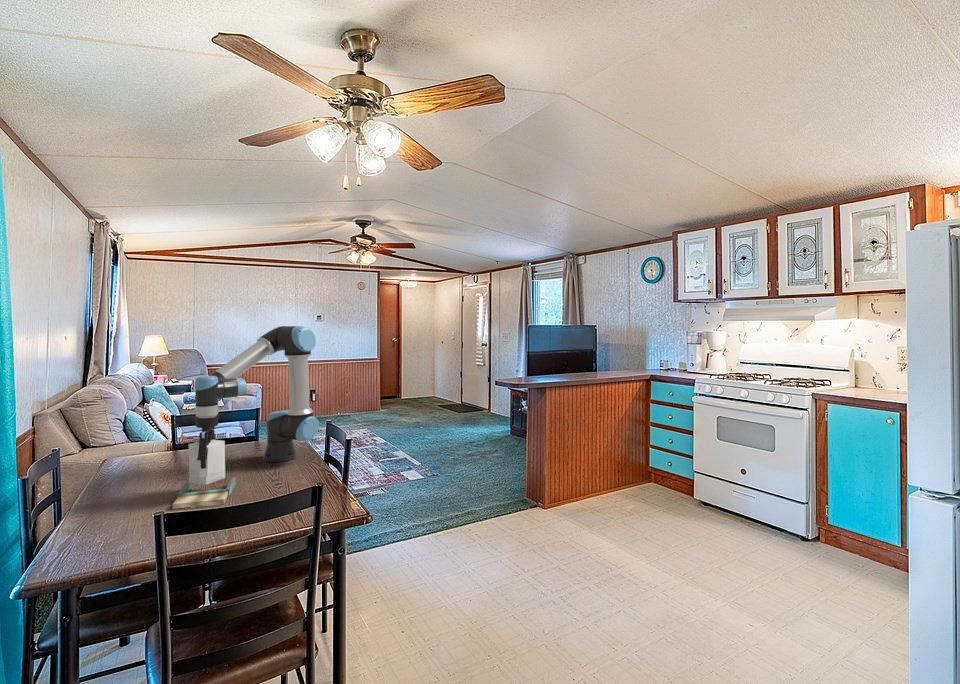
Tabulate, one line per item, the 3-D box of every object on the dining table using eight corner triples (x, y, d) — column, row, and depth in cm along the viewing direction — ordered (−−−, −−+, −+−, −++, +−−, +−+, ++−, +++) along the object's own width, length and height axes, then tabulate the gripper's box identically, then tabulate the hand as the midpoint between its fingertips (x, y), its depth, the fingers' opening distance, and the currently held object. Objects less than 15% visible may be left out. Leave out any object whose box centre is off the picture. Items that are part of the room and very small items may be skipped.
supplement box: (226, 478, 184) (225, 440, 183) (206, 485, 176) (205, 445, 175) (208, 475, 187) (208, 438, 186) (188, 482, 179) (187, 443, 178)
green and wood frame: (235, 484, 191) (235, 477, 191) (225, 504, 170) (225, 496, 170) (187, 489, 185) (187, 481, 185) (170, 509, 164) (170, 501, 164)
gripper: (203, 411, 191) (203, 463, 191) (187, 423, 168) (188, 482, 168) (223, 410, 193) (224, 461, 194) (211, 421, 170) (212, 480, 171)
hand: (207, 471), depth 181 cm, fingers closed on supplement box, 12 cm apart
